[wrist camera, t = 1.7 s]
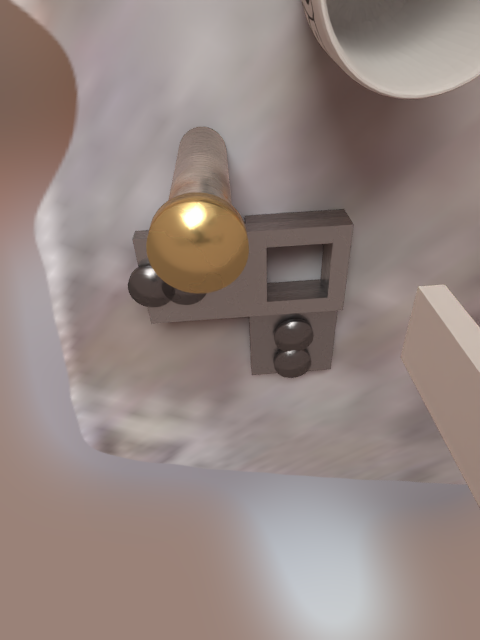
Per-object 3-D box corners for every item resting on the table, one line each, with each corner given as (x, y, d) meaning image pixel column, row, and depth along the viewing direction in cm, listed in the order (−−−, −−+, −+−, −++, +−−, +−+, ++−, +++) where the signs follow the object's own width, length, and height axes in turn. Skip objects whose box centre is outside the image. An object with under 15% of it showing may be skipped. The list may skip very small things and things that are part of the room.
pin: (166, 119, 26) (136, 206, 15) (232, 115, 26) (246, 199, 15) (175, 184, 28) (155, 296, 18) (235, 180, 28) (250, 289, 18)
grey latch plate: (244, 215, 30) (246, 227, 28) (344, 209, 30) (351, 220, 28) (251, 365, 39) (252, 380, 37) (327, 360, 39) (331, 374, 37)
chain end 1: (348, 216, 29) (356, 228, 27) (338, 300, 33) (344, 314, 32) (121, 232, 29) (117, 244, 27) (141, 314, 33) (138, 329, 31)
